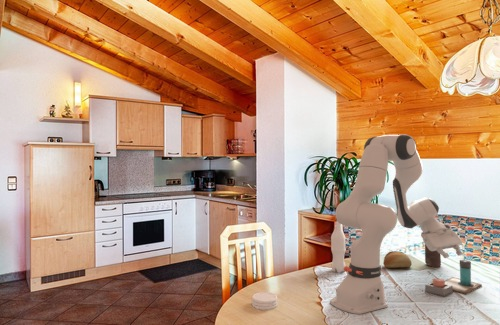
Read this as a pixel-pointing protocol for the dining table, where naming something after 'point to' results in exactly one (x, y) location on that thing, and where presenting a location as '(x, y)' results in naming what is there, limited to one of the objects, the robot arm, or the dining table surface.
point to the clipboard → (459, 287)
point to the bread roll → (396, 260)
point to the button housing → (438, 289)
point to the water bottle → (338, 248)
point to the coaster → (264, 301)
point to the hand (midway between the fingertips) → (454, 256)
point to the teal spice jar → (465, 272)
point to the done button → (439, 283)
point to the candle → (432, 258)
